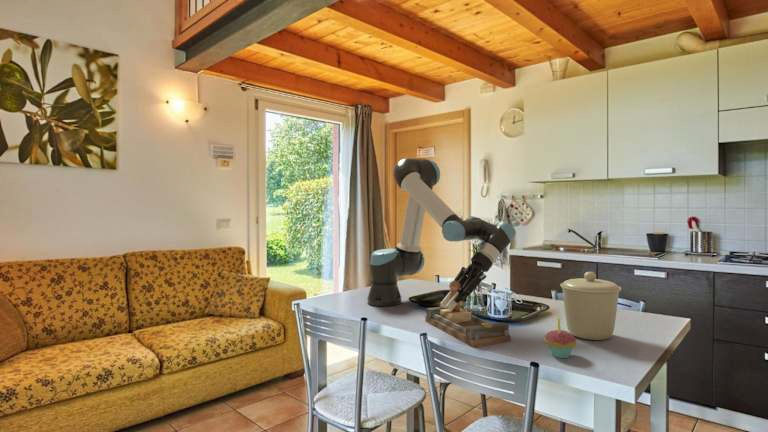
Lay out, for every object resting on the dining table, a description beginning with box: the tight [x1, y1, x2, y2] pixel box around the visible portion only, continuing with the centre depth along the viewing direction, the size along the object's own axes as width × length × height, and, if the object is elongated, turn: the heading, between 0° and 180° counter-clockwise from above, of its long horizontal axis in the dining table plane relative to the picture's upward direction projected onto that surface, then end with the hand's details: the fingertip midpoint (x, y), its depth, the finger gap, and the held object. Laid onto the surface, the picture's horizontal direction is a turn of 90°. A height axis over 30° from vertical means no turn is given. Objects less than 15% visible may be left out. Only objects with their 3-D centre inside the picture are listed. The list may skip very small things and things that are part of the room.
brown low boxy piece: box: [424, 304, 512, 348], centre depth 151 cm, size 32×14×6 cm, turn 22°
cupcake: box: [544, 315, 577, 359], centre depth 126 cm, size 9×8×12 cm
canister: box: [559, 271, 622, 341], centre depth 143 cm, size 18×18×21 cm
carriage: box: [440, 280, 472, 323], centre depth 157 cm, size 8×8×14 cm
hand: (445, 307), depth 155 cm, fingers closed on carriage, 3 cm apart
